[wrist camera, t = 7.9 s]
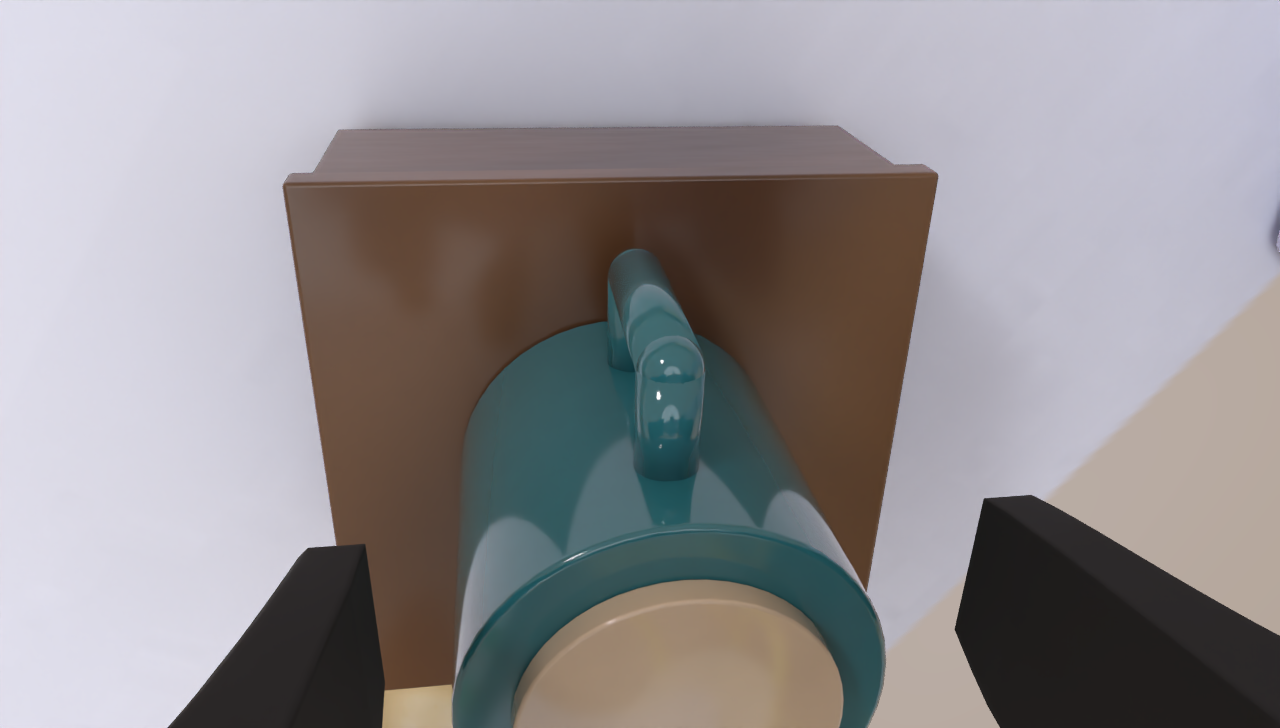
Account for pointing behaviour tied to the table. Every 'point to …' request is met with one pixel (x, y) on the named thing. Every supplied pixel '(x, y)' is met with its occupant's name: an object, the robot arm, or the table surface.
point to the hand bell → (418, 707)
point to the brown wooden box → (588, 310)
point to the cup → (648, 542)
